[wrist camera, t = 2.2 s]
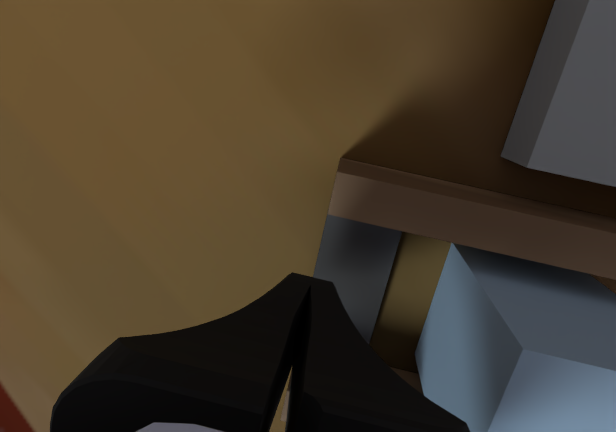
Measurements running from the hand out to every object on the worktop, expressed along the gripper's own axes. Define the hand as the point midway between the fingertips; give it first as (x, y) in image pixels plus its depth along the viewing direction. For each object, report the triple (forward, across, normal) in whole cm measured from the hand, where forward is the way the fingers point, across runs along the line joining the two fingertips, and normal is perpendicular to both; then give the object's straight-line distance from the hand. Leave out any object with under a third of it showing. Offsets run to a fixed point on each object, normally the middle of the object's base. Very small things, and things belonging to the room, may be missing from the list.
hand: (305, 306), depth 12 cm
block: (+2, -6, 0) cm, 7 cm away
